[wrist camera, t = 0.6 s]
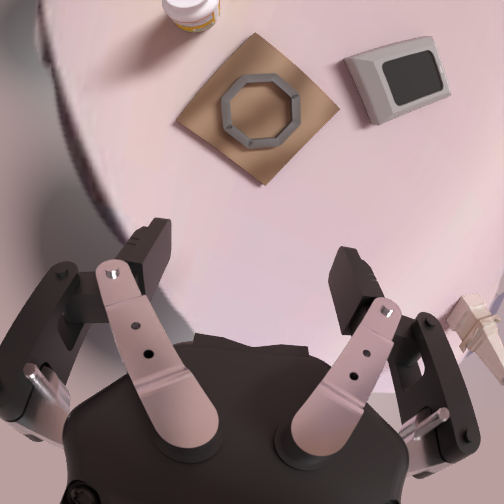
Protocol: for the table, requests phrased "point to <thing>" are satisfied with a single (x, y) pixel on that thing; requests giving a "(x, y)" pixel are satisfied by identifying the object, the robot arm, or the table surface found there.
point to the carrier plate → (258, 109)
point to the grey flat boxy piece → (399, 78)
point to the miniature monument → (479, 332)
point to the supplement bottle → (192, 13)
